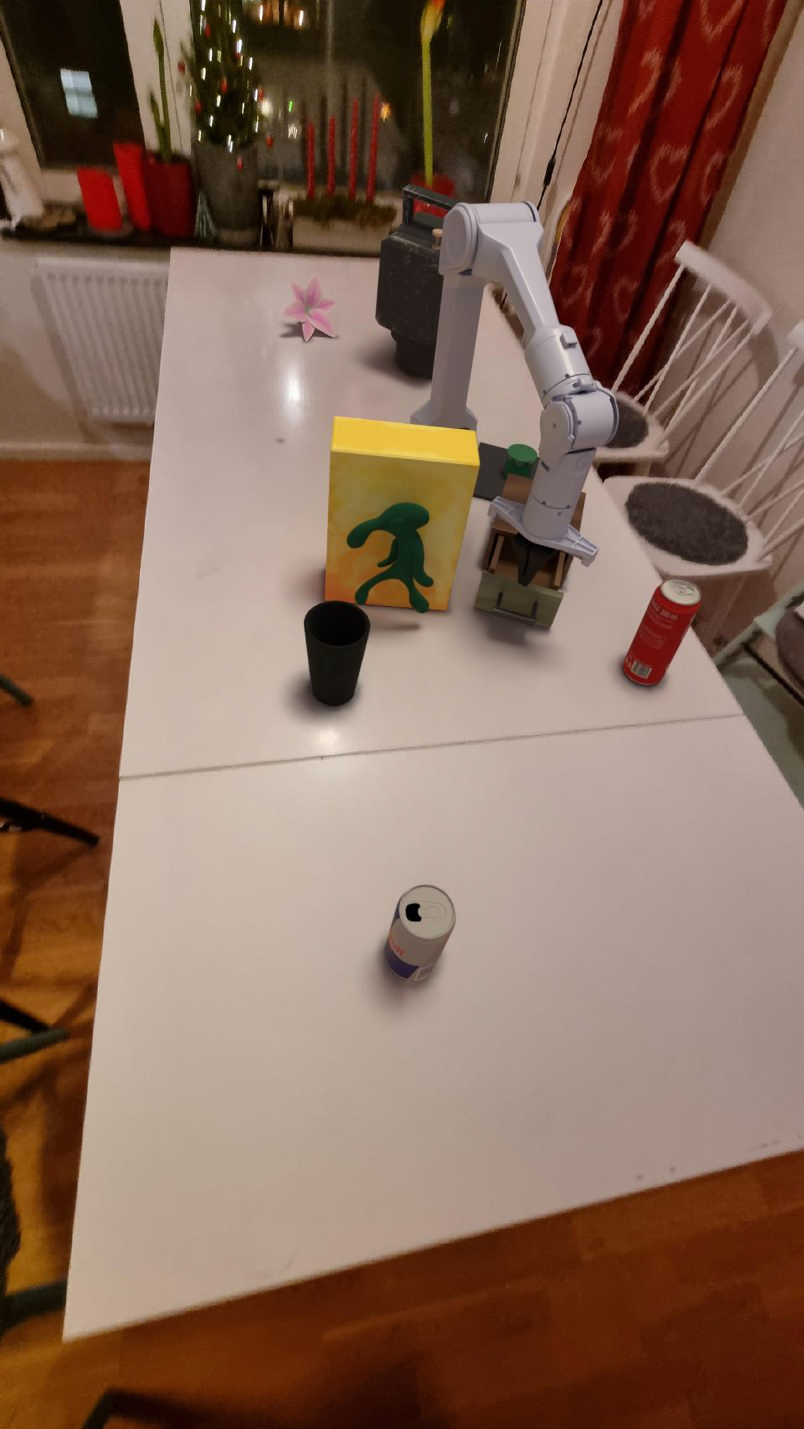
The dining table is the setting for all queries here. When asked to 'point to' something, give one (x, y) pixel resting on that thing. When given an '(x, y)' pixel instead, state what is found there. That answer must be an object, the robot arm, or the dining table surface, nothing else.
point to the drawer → (520, 588)
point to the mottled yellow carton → (397, 511)
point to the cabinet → (519, 492)
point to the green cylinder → (519, 460)
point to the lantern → (413, 282)
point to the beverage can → (662, 630)
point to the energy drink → (419, 932)
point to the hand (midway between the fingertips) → (525, 581)
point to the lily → (311, 307)
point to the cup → (335, 649)
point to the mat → (493, 471)
